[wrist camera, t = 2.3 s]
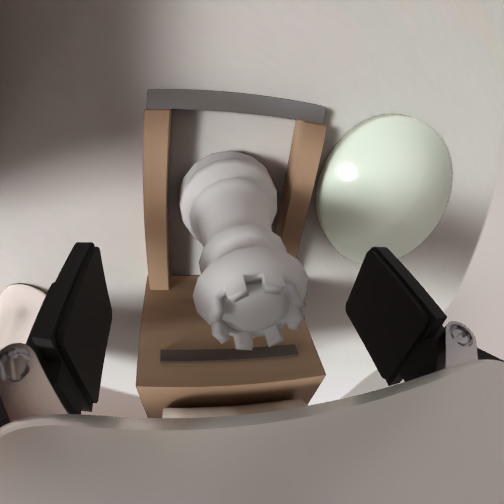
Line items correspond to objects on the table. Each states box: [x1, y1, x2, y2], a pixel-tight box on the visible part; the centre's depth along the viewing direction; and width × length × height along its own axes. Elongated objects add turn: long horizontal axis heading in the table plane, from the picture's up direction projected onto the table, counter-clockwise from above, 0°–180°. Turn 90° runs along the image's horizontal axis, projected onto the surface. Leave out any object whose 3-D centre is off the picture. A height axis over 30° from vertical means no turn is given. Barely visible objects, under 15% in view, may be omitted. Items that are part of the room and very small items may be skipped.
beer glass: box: [0, 284, 47, 351], centre depth 10 cm, size 7×7×15 cm
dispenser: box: [136, 89, 327, 418], centre depth 11 cm, size 15×8×11 cm, turn 172°
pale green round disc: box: [316, 114, 453, 264], centre depth 15 cm, size 9×9×1 cm
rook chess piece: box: [179, 151, 308, 350], centre depth 11 cm, size 4×4×8 cm
